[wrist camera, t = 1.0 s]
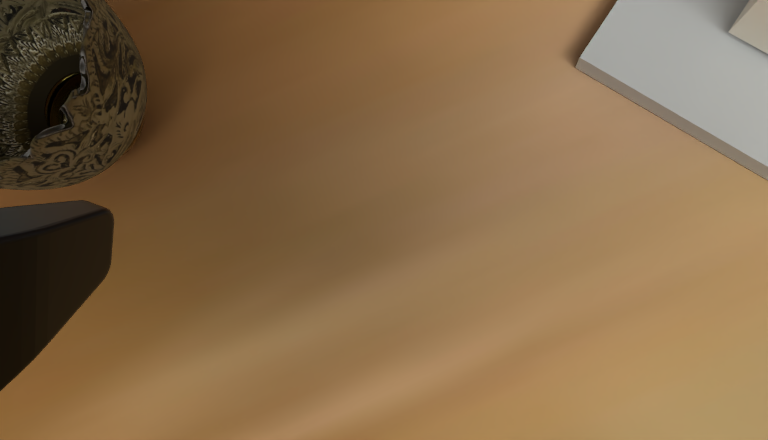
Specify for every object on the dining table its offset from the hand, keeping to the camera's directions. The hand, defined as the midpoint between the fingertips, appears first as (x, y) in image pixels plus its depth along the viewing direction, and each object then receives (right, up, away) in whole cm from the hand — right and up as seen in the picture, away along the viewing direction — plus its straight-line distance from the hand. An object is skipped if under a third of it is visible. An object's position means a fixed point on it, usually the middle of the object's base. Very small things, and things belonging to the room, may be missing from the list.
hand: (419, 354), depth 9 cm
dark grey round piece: (-11, +5, +17) cm, 21 cm away
